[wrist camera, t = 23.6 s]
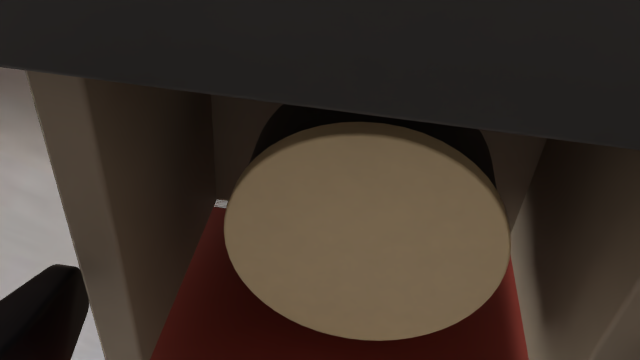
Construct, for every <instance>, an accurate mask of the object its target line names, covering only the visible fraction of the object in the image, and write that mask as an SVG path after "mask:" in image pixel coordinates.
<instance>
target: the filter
mask: <svg viewBox="0 0 640 360" xmlns="http://www.w3.org/2000/svg"><path fill="white" fill-rule="evenodd" d="M224 238H225V245H226V248H227V252H228V255H229V258H230V260H231V262H232V264H233V266H234V269H235V270H236V272H237V273H238V275H239V276H240V278H241V279H242V281H243V282H244V283H245V285H246V286H247V287H248V288H249V289H250V290H251V291H252V293H254V294H255V295H256V296H257V297H258V298H259V299H260V300H261V301H262V302H264V303H265V304H266V305H268V306H269V307H270V308H272V309H273V310H274V311H276V312H278V313H279V314H281V315H283V316H284V317H286V318H288V319H290V320H292V321H294V322H296V323H298V324H300V325H302V326H305V327H308V328H311V329H313V330H316V331H319V332H323V333H326V334H330V335H334V336H339V337H344V338H350V339H359V340H376V341H383V340H399V339H406V338H413V337H418V336H422V335H426V334H430V333H433V332H436V331H439V330H442V329H444V328H447V327H449V326H451V325H453V324H456V323H458V322H459V321H461V320H463V319H464V318H466V317H468V316H469V315H471V314H472V313H473V312H475V311H476V310H477V309H479V308H480V307H481V306H482V305H483V304H484V303H485V302H486V301H487V300H488V299H489V298H490V297H491V296H492V294H493V293H494V292H495V290H496V289H497V288H498V286H499V285H500V283H501V281H502V279H503V277H504V275H505V273H506V270H507V266H508V263H509V260H510V252H511V236H510V228H509V222H508V218H507V214H506V210H505V207H504V204H503V202H502V200H501V197H500V195H499V193H498V191H497V187H496V182H495V176H494V170H493V164H492V159H491V155H490V151H489V148H488V145H487V143H486V141H485V139H484V137H483V135H482V133H481V132H480V130H479V129H472V128H464V127H457V126H449V125H441V124H434V123H426V122H418V121H411V120H403V119H395V118H388V117H380V116H372V115H365V114H357V113H349V112H342V111H334V110H326V109H319V108H311V107H303V106H295V105H288V104H283V105H282V106H280V107H279V108H278V109H277V111H276V112H275V113H274V114H273V115H272V116H271V117H270V118H269V120H268V122H267V123H266V125H265V126H264V128H263V129H262V132H261V134H260V136H259V138H258V141H257V143H256V146H255V149H254V151H253V154H252V157H251V159H250V162H249V164H248V166H247V167H246V168H245V170H244V171H243V173H242V174H241V176H240V177H239V179H238V180H237V182H236V185H235V187H234V189H233V192H232V194H231V196H230V199H229V201H228V204H227V208H226V212H225V217H224Z"/></svg>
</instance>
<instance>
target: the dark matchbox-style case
mask: <svg viewBox="0 0 640 360" xmlns="http://www.w3.org/2000/svg"><path fill="white" fill-rule="evenodd" d="M0 67H4V68H11V69H19V70H27V71H34V72H42V73H50V74H57V75H65V76H73V77H80V78H88V79H96V80H104V81H111V82H119V83H127V84H134V85H142V86H150V87H157V88H165V89H173V90H180V91H188V92H196V93H203V94H211V95H219V96H226V97H234V98H242V99H249V100H257V101H265V102H272V103H280V104H288V105H295V106H303V107H311V108H319V109H326V110H334V111H342V112H349V113H357V114H365V115H372V116H380V117H388V118H395V119H403V120H411V121H418V122H426V123H434V124H441V125H449V126H457V127H464V128H472V129H480V130H487V131H495V132H503V133H510V134H518V135H526V136H534V137H541V138H549V139H557V140H564V141H572V142H580V143H587V144H595V145H603V146H610V147H618V148H626V149H633V150H640V0H0Z"/></svg>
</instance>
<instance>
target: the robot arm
mask: <svg viewBox="0 0 640 360" xmlns="http://www.w3.org/2000/svg"><path fill="white" fill-rule="evenodd" d="M88 308H89V297H88V294H87V290H86V287H85V283H84V279H83V276H82V273H81V270H80V269H79V268H77V267H74V266H67V265H60V264H55V265H52V266H50V267H48V268H47V269H45V270H44V271H42V272H41V273H39V274H38V275H37V276H35V277H34V278H32V279H31V280H29V281H28V282H26V283H25V284H24V285H22V286H21V287H19V288H18V289H16V290H15V291H13V292H12V293H11V294H9V295H8V296H6V297H5V298H3V299H2V300H0V360H70V359H71V357H72V354H73V351H74V348H75V346H76V343H77V340H78V337H79V335H80V332H81V329H82V326H83V324H84V321H85V318H86V315H87V312H88Z"/></svg>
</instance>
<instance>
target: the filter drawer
mask: <svg viewBox="0 0 640 360" xmlns="http://www.w3.org/2000/svg"><path fill="white" fill-rule="evenodd" d="M25 72H26V75H27V79H28V83H29V86H30V90H31V93H32V97H33V101H34V104H35V108H36V112H37V115H38V119H39V122H40V126H41V130H42V133H43V137H44V140H45V144H46V148H47V151H48V155H49V158H50V162H51V166H52V169H53V173H54V176H55V180H56V184H57V187H58V191H59V194H60V198H61V202H62V205H63V209H64V212H65V216H66V220H67V223H68V227H69V231H70V234H71V238H72V241H73V245H74V249H75V252H76V256H77V259H78V263H79V267H80V270H81V273H82V276H83V279H84V283H85V287H86V290H87V294H88V297H89V303H90V306H91V310H92V313H93V317H94V321H95V324H96V328H97V332H98V335H99V339H100V342H101V346H102V350H103V353H104V357H105V360H640V150H633V149H626V148H618V147H610V146H603V145H595V144H587V143H580V142H572V141H564V140H557V139H549V138H541V137H534V136H526V135H518V134H510V133H503V132H495V131H487V130H480V129H479V130H480V132H481V133H482V135H483V137H484V139H485V141H486V143H487V145H488V148H489V151H490V155H491V159H492V164H493V170H494V176H495V182H496V187H497V191H498V193H499V195H500V197H501V200H502V202H503V204H504V207H505V210H506V214H507V218H508V222H509V228H510V236H511V252H510V260H509V263H508V266H507V270H506V273H505V275H504V277H503V279H502V281H501V283H500V285H499V286H498V288H497V289H496V290H495V292H494V293H493V294H492V296H491V297H490V298H489V299H488V300H487V301H486V302H485V303H484V304H483V305H482V306H481V307H480V308H479V309H477V310H476V311H475V312H473V313H472V314H471V315H469V316H468V317H466V318H464V319H463V320H461V321H459V322H458V323H456V324H453V325H451V326H449V327H447V328H444V329H442V330H439V331H436V332H433V333H430V334H426V335H422V336H418V337H413V338H406V339H399V340H383V341H376V340H359V339H350V338H344V337H339V336H334V335H330V334H326V333H323V332H319V331H316V330H313V329H311V328H308V327H305V326H302V325H300V324H298V323H296V322H294V321H292V320H290V319H288V318H286V317H284V316H283V315H281V314H279V313H278V312H276V311H274V310H273V309H272V308H270V307H269V306H268V305H266V304H265V303H264V302H262V301H261V300H260V299H259V298H258V297H257V296H256V295H255V294H254V293H252V291H251V290H250V289H249V288H248V287H247V286H246V285H245V283H244V282H243V281H242V279H241V278H240V276H239V275H238V273H237V272H236V270H235V269H234V266H233V264H232V262H231V260H230V258H229V255H228V252H227V248H226V245H225V238H224V217H225V212H226V208H219V207H214V205H215V202H216V199H219V200H226V201H229V199H230V196H231V194H232V192H233V189H234V187H235V185H236V182H237V180H238V179H239V177H240V176H241V174H242V173H243V171H244V170H245V168H246V167H247V166H248V164H249V162H250V159H251V157H252V154H253V151H254V149H255V146H256V143H257V141H258V138H259V136H260V134H261V132H262V129H263V128H264V126H265V125H266V123H267V122H268V120H269V118H270V117H271V116H272V115H273V114H274V113H275V112H276V111H277V109H278V108H279V107H280V106H282V105H283V104H280V103H272V102H265V101H257V100H249V99H242V98H234V97H226V96H219V95H211V94H203V93H196V92H188V91H180V90H173V89H165V88H157V87H150V86H142V85H134V84H127V83H119V82H111V81H104V80H96V79H88V78H80V77H73V76H65V75H57V74H50V73H42V72H34V71H27V70H25Z"/></svg>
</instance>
